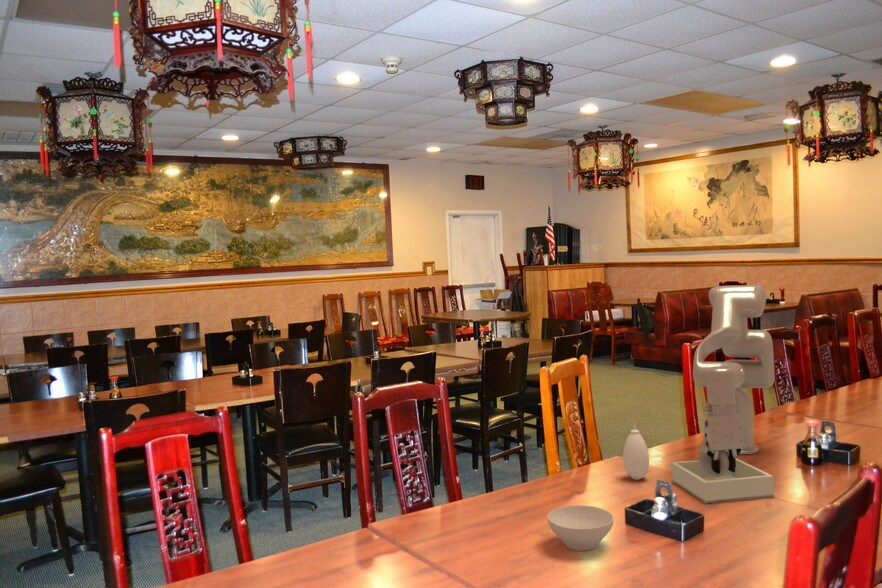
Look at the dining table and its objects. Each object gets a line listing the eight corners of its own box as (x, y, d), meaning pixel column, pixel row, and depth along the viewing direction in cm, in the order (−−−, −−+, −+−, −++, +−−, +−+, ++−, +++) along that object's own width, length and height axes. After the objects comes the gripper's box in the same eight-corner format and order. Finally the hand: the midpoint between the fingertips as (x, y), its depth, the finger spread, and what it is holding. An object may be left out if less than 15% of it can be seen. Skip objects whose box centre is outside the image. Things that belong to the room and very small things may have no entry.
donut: (697, 473, 211) (694, 440, 210) (704, 470, 212) (702, 438, 212) (725, 481, 202) (723, 448, 201) (733, 478, 204) (731, 445, 203)
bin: (671, 481, 214) (671, 462, 214) (734, 475, 217) (733, 456, 217) (705, 504, 194) (704, 482, 194) (774, 497, 197) (773, 476, 196)
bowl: (568, 527, 182) (567, 501, 182) (626, 540, 172) (624, 512, 172) (535, 549, 170) (534, 520, 170) (595, 564, 160) (594, 534, 160)
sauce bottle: (650, 483, 214) (648, 424, 214) (624, 482, 216) (622, 424, 215) (648, 475, 222) (646, 419, 221) (623, 475, 224) (620, 419, 223)
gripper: (700, 414, 198) (703, 478, 199) (756, 409, 200) (758, 472, 201) (688, 409, 205) (690, 470, 206) (741, 404, 207) (743, 465, 208)
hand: (723, 471), depth 203 cm, fingers closed on donut, 4 cm apart
